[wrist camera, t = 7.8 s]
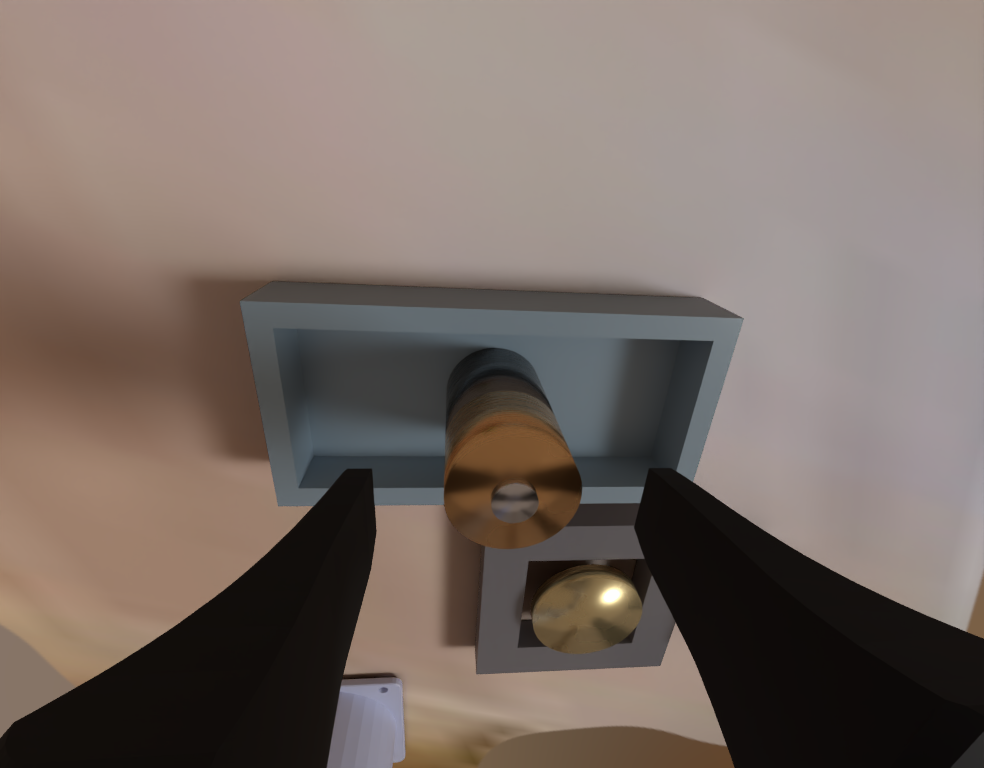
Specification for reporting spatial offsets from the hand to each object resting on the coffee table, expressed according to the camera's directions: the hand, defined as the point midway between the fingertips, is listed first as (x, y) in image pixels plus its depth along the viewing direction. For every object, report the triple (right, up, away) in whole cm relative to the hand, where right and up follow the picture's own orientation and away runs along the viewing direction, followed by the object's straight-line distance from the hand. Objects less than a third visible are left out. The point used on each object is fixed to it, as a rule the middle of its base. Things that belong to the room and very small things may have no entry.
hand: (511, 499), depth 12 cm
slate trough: (0, +3, +6) cm, 7 cm away
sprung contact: (+4, -8, +10) cm, 13 cm away
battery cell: (0, +3, +6) cm, 6 cm away
